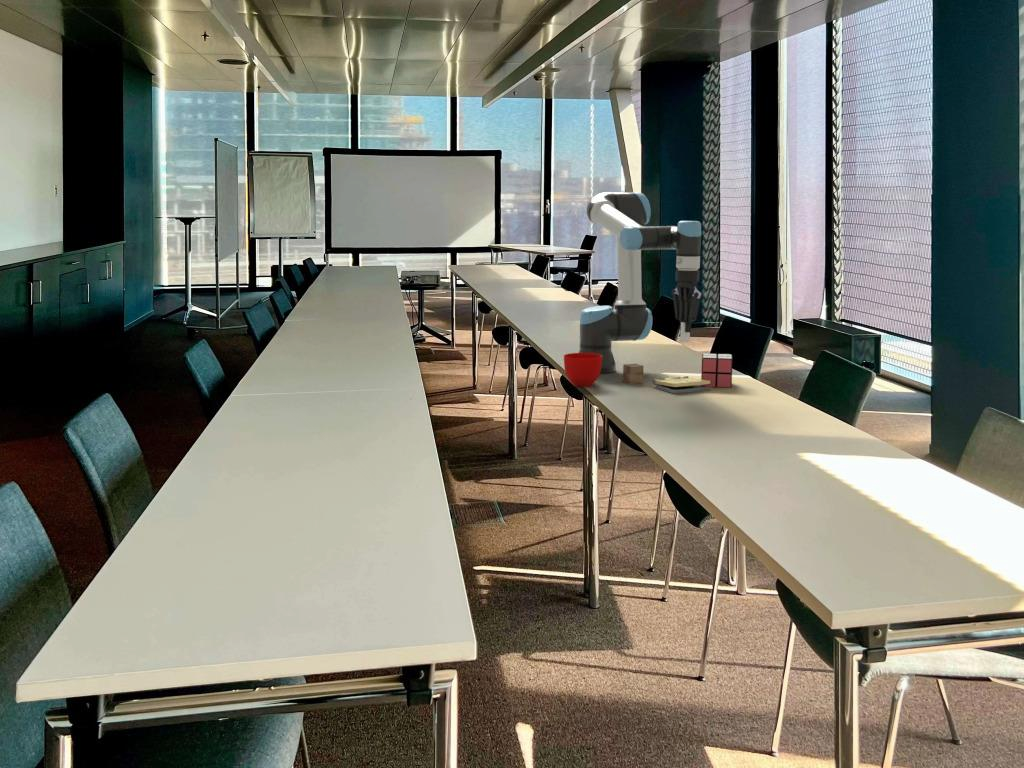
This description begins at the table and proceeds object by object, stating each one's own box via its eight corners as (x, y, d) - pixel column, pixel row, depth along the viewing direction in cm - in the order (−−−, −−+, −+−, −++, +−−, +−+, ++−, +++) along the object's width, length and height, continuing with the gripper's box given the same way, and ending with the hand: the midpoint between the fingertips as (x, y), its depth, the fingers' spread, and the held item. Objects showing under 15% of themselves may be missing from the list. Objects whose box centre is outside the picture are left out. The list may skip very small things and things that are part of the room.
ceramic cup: (608, 380, 333) (609, 352, 331) (596, 389, 317) (597, 359, 315) (572, 378, 337) (572, 350, 335) (558, 387, 321) (559, 357, 319)
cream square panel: (686, 381, 327) (686, 376, 327) (710, 384, 316) (710, 379, 315) (651, 384, 322) (651, 379, 321) (674, 388, 310) (674, 382, 309)
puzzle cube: (731, 388, 320) (732, 358, 318) (700, 387, 322) (702, 357, 320) (730, 383, 330) (732, 354, 328) (701, 381, 332) (702, 353, 330)
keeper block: (622, 381, 332) (623, 364, 330) (635, 380, 334) (635, 363, 333) (630, 384, 327) (631, 366, 326) (643, 382, 329) (643, 365, 328)
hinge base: (686, 383, 328) (686, 375, 327) (709, 390, 316) (710, 382, 315) (651, 386, 322) (651, 378, 321) (674, 393, 310) (674, 385, 310)
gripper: (665, 268, 313) (663, 340, 318) (692, 271, 302) (689, 345, 307) (683, 267, 317) (680, 338, 321) (710, 270, 306) (707, 343, 310)
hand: (684, 341), depth 314 cm, fingers closed
